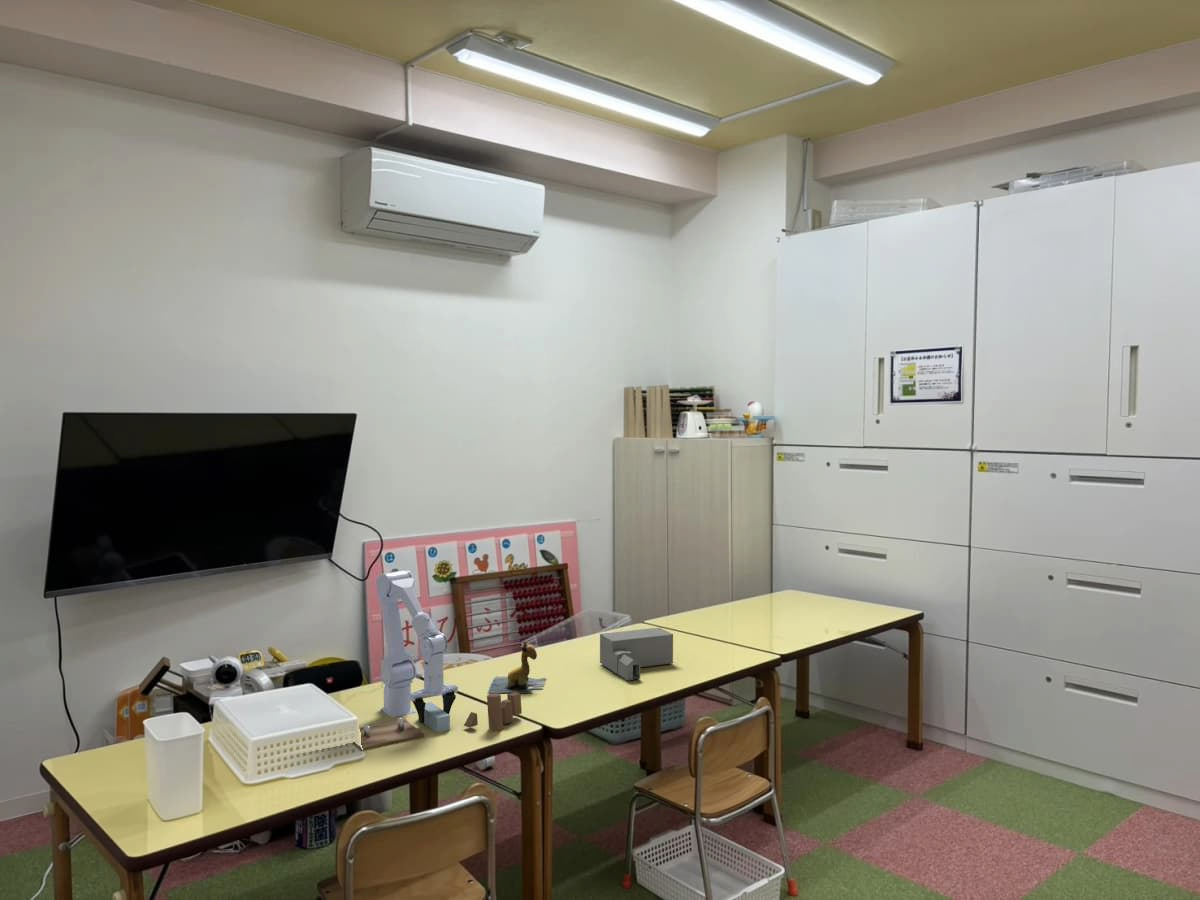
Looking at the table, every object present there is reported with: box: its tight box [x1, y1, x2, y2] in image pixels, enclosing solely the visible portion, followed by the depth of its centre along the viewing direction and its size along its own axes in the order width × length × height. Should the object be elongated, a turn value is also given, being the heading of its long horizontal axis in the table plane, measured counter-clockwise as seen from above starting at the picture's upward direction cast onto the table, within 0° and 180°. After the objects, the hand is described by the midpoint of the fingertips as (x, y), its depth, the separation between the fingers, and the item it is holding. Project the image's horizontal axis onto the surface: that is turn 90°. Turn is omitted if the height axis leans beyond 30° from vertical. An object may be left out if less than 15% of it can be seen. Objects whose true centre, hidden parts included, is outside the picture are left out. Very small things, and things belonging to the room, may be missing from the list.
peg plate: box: [359, 716, 425, 751], centre depth 251 cm, size 15×18×4 cm
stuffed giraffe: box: [487, 640, 547, 695], centre depth 297 cm, size 16×18×16 cm
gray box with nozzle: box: [599, 627, 674, 681], centre depth 320 cm, size 25×23×11 cm
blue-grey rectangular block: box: [424, 701, 451, 734], centre depth 260 cm, size 14×4×5 cm, turn 34°
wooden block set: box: [463, 692, 523, 732], centre depth 259 cm, size 18×9×10 cm, turn 133°
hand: (434, 720), depth 260 cm, fingers open, 7 cm apart
